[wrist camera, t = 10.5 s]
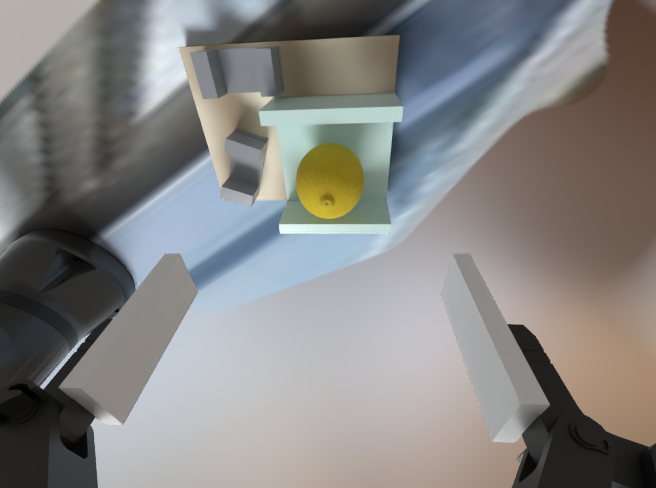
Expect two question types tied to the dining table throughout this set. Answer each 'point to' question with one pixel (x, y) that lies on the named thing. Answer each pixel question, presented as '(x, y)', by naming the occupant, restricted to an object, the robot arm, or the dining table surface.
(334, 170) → the lemon
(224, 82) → the clip
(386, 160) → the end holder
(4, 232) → the dining table surface
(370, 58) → the board
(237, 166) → the clip
